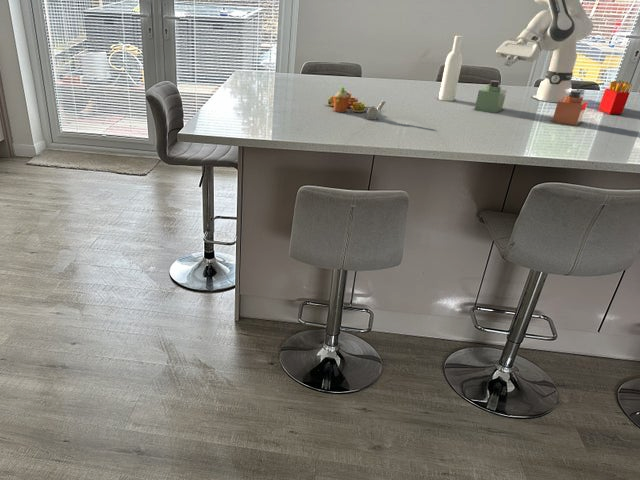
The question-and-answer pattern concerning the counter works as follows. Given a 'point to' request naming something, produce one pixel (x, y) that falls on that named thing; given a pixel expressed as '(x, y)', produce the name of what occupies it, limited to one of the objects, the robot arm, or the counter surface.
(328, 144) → the counter surface
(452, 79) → the bottle
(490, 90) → the sage bottle
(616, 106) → the french fries container
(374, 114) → the grey mortar and pestle
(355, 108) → the toy tea set
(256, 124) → the counter surface
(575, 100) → the clay bottle
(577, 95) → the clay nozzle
